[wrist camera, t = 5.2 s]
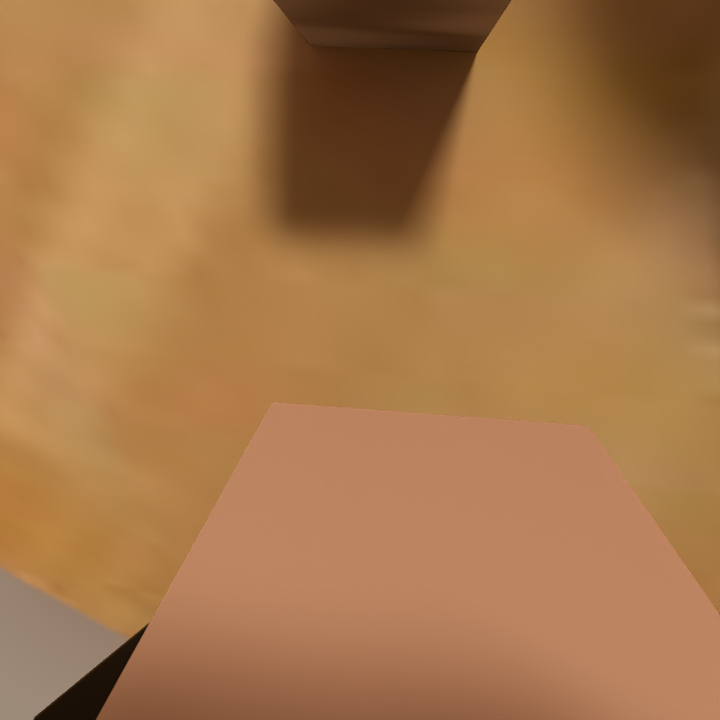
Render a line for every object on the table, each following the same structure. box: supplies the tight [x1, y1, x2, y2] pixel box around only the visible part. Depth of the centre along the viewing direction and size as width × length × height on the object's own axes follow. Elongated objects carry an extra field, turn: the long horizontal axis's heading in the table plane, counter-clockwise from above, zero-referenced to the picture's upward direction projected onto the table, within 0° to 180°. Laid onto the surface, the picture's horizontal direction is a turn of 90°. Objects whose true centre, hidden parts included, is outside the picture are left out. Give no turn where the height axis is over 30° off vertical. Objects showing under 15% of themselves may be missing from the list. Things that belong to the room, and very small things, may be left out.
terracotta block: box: [96, 402, 720, 720], centre depth 7 cm, size 5×5×6 cm
